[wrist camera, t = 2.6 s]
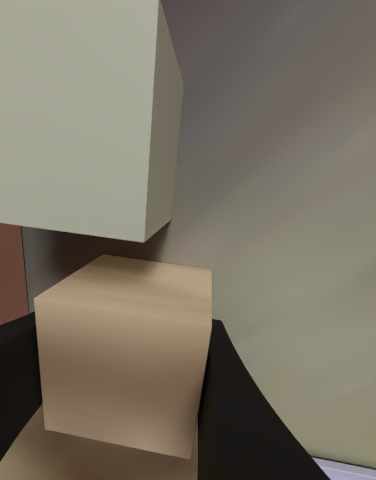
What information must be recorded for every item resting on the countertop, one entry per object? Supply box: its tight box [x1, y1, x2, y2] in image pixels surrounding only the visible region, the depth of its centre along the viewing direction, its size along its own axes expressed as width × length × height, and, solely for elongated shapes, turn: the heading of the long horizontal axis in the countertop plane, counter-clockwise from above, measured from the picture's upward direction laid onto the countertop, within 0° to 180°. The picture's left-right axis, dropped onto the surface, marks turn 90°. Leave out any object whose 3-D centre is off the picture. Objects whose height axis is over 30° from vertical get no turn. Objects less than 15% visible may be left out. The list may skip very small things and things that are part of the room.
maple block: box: [34, 254, 212, 460], centre depth 8 cm, size 5×5×4 cm
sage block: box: [0, 0, 184, 242], centre depth 7 cm, size 5×5×4 cm
